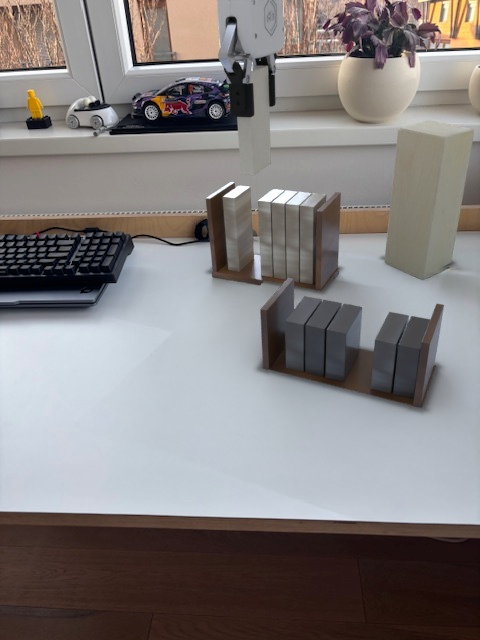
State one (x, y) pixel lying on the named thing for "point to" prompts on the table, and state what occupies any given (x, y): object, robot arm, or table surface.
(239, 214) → the brown rack
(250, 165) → the white book
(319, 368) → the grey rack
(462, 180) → the tall beige block
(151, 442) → the table surface
